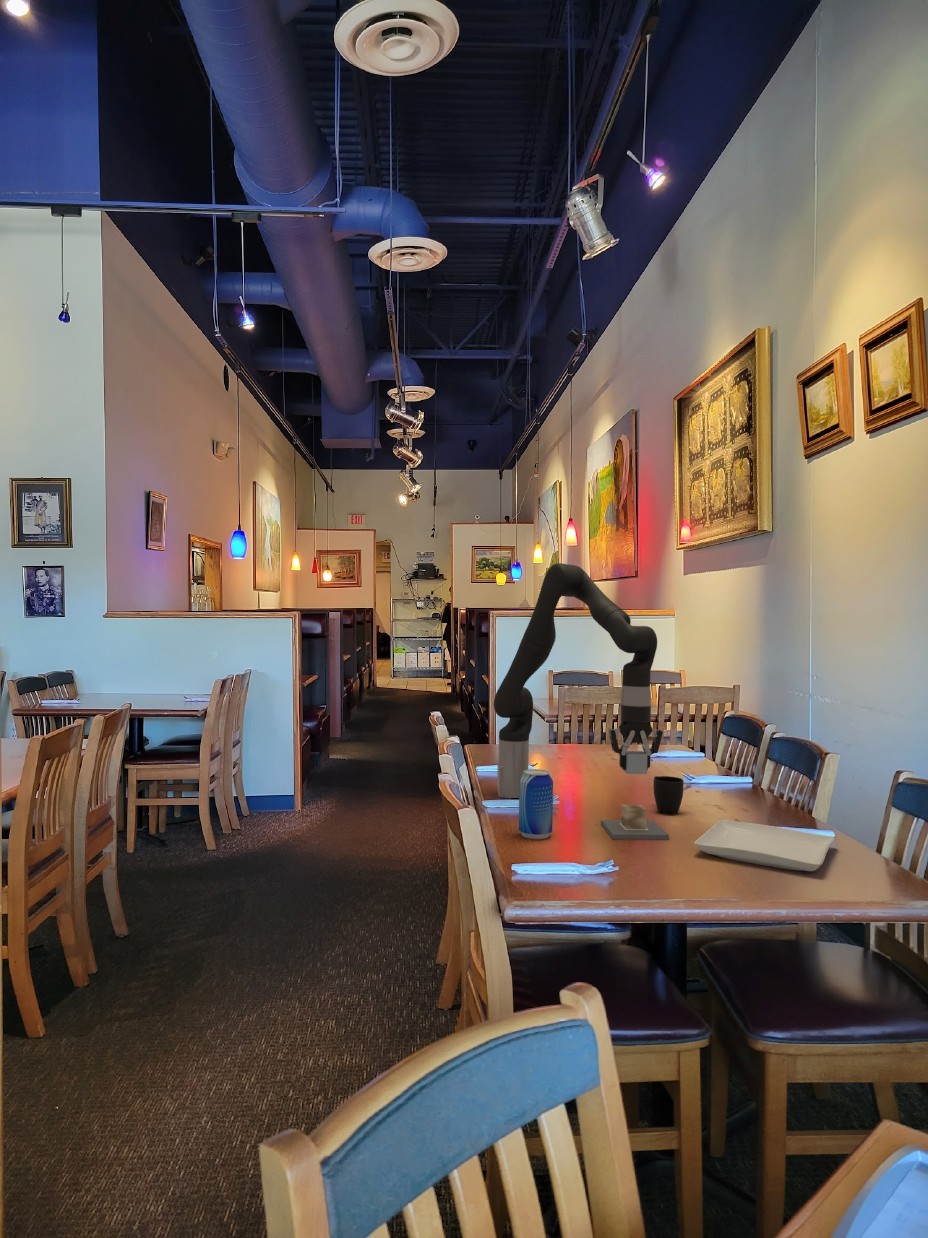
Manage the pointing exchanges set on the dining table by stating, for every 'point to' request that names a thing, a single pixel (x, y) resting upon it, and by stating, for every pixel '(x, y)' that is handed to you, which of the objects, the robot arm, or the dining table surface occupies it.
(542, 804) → the beer can
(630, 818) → the maple cube
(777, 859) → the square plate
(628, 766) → the bluegrey cube
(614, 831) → the board
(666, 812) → the mug
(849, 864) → the dining table surface
